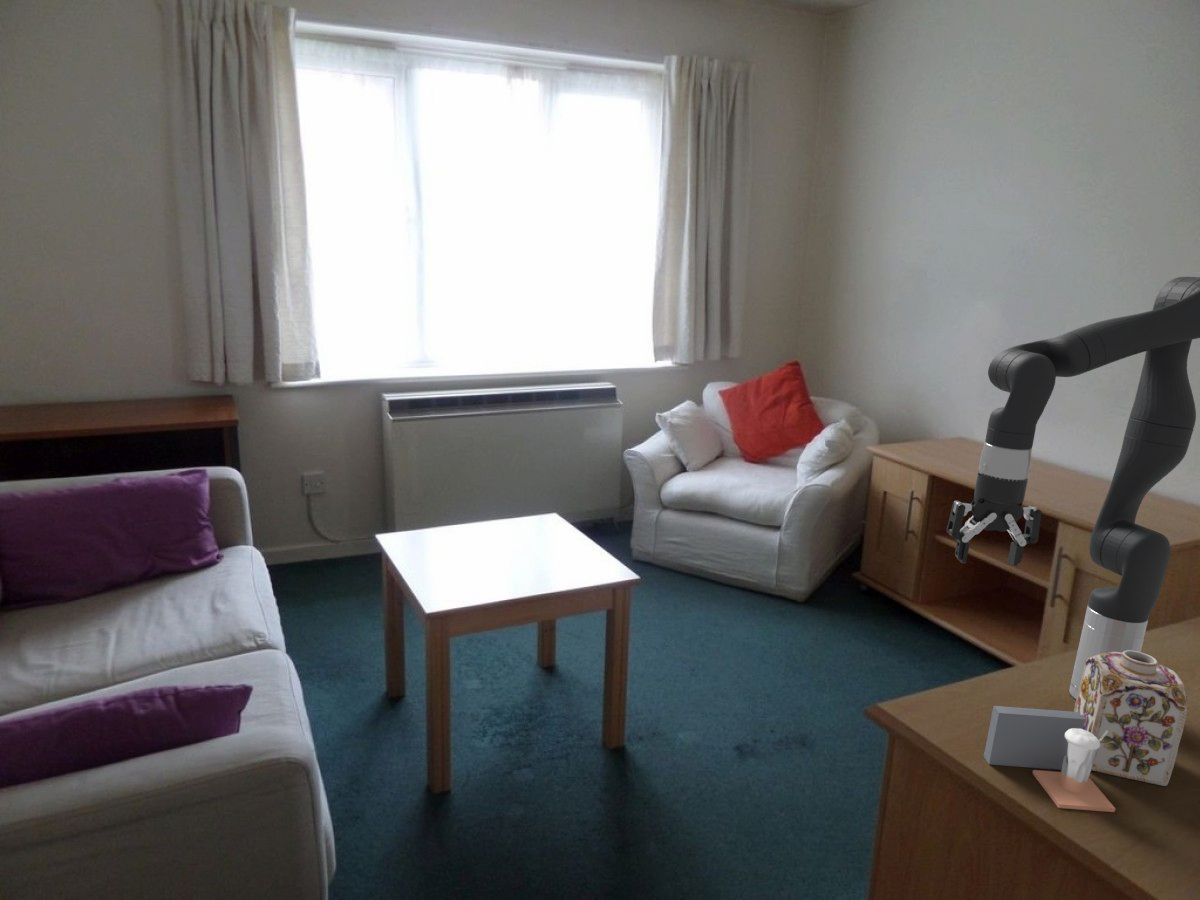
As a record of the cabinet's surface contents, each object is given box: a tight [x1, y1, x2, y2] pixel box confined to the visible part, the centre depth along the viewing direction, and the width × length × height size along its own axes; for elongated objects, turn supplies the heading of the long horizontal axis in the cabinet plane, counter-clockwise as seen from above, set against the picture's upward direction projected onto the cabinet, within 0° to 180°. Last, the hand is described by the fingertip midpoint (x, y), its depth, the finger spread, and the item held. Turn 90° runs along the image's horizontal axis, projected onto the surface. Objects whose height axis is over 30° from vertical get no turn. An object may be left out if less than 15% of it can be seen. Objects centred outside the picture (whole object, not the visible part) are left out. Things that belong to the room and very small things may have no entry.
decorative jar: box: [1073, 650, 1189, 787], centre depth 129 cm, size 12×12×18 cm
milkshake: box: [1060, 728, 1108, 794], centre depth 121 cm, size 4×5×10 cm
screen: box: [983, 705, 1085, 771], centre depth 128 cm, size 13×2×9 cm, turn 88°
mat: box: [1032, 769, 1116, 813], centre depth 122 cm, size 8×8×1 cm
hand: (986, 563), depth 140 cm, fingers open, 8 cm apart
